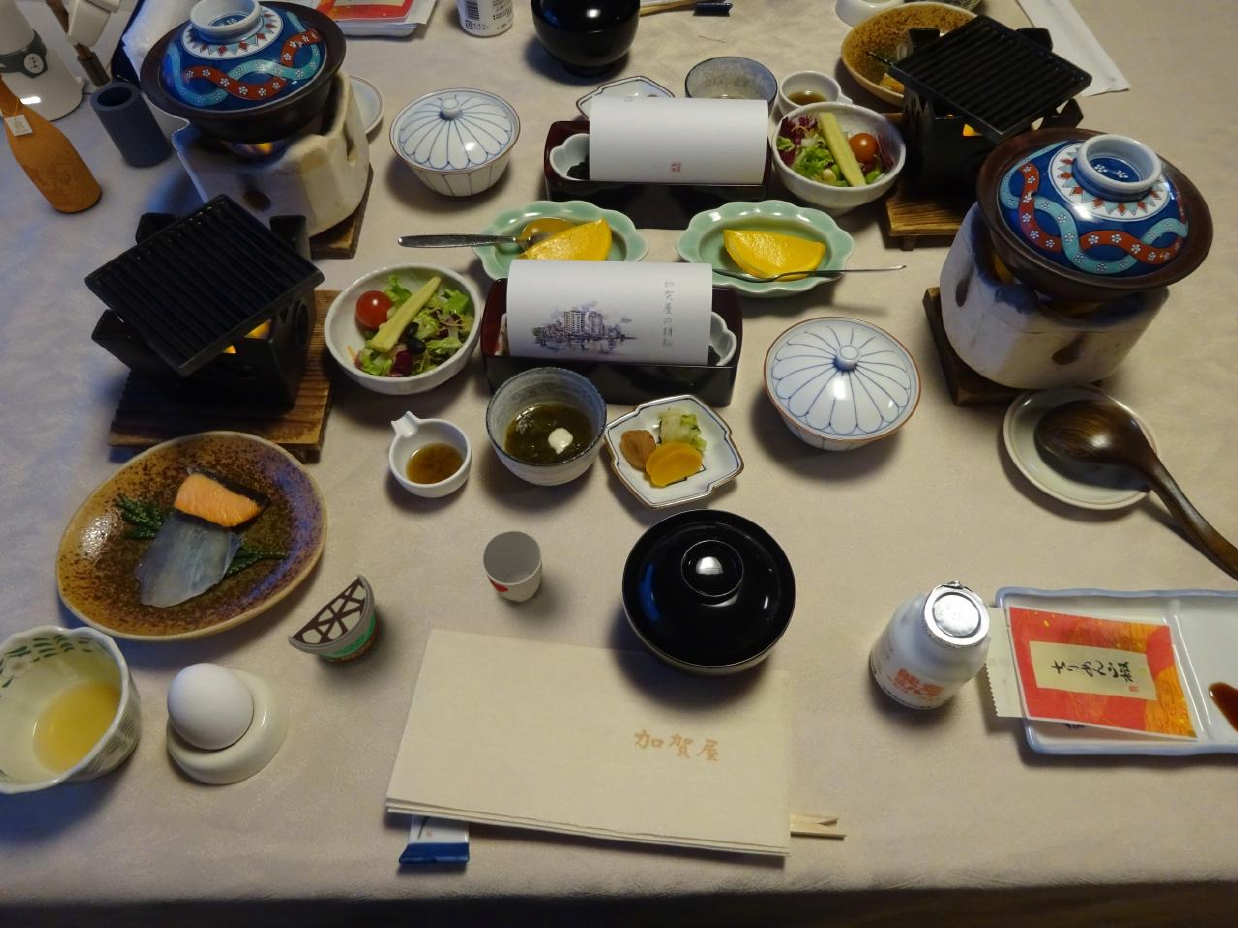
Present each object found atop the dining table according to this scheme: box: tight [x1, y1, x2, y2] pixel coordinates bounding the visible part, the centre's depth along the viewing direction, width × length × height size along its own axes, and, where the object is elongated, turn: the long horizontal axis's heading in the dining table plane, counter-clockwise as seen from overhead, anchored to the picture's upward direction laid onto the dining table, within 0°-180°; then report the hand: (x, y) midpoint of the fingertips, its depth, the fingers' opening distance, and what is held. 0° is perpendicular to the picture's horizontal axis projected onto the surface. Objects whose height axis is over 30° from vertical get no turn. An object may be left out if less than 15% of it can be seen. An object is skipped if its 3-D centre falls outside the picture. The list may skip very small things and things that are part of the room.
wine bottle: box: [0, 73, 101, 213], centre depth 145 cm, size 10×10×30 cm
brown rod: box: [44, 0, 111, 88], centre depth 144 cm, size 3×3×16 cm
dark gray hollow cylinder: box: [89, 82, 172, 169], centre depth 160 cm, size 9×9×13 cm
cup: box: [481, 529, 543, 603], centre depth 111 cm, size 8×8×10 cm
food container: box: [287, 573, 380, 664], centre depth 106 cm, size 12×6×10 cm, turn 139°
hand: (70, 36), depth 144 cm, fingers closed on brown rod, 2 cm apart
